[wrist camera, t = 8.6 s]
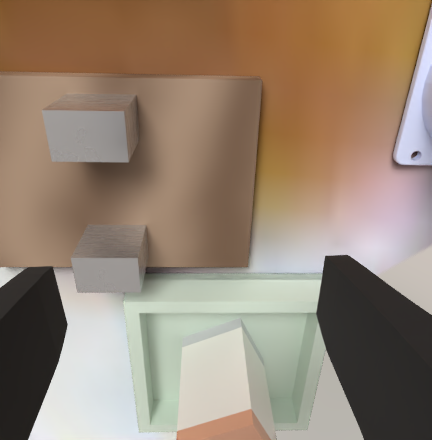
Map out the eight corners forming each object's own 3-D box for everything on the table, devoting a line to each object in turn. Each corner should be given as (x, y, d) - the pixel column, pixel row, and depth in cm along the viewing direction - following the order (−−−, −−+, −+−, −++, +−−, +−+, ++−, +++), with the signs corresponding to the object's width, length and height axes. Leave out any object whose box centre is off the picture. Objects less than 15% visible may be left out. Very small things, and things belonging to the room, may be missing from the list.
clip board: (259, 76, 18) (273, 94, 14) (246, 256, 23) (254, 303, 19) (-55, 70, 17) (-120, 87, 14) (1, 256, 22) (-37, 304, 19)
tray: (324, 273, 23) (336, 301, 21) (299, 397, 29) (307, 429, 27) (130, 273, 23) (122, 302, 21) (143, 399, 29) (138, 432, 26)
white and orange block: (240, 317, 24) (253, 424, 18) (262, 357, 26) (281, 467, 20) (182, 337, 25) (176, 447, 19) (208, 375, 27) (210, 486, 20)
